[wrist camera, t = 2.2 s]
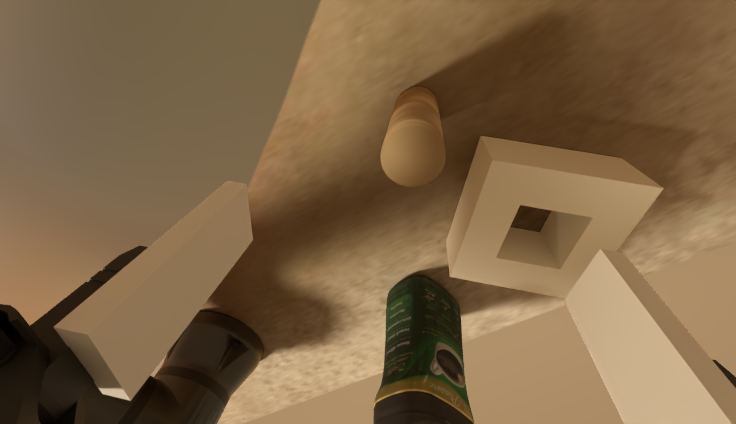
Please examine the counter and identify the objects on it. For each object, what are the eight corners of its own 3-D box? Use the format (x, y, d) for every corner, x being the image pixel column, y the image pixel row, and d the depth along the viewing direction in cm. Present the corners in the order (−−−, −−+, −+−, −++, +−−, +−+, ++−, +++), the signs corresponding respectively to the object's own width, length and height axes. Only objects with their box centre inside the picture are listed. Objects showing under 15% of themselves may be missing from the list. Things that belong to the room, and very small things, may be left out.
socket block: (446, 241, 36) (449, 276, 31) (480, 135, 29) (492, 160, 24) (557, 261, 36) (579, 301, 31) (621, 158, 28) (663, 188, 23)
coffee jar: (378, 292, 43) (352, 448, 27) (420, 264, 39) (419, 428, 24) (425, 328, 45) (425, 489, 30) (469, 306, 42) (496, 478, 26)
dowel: (392, 126, 30) (376, 181, 20) (398, 83, 28) (385, 120, 18) (432, 132, 30) (437, 191, 20) (442, 89, 28) (453, 131, 18)
